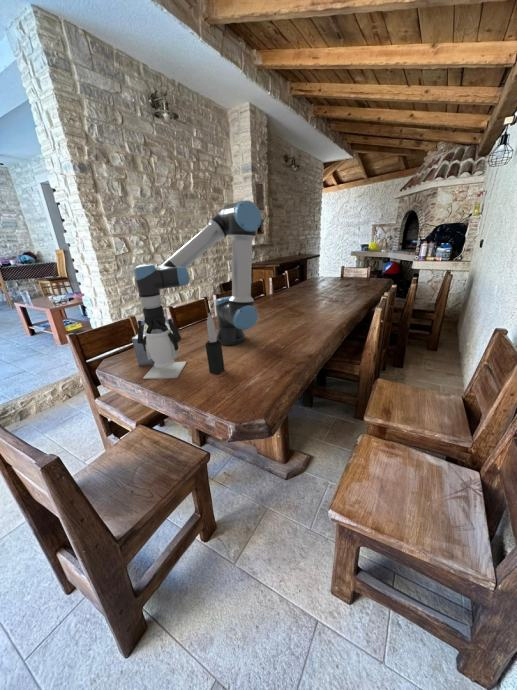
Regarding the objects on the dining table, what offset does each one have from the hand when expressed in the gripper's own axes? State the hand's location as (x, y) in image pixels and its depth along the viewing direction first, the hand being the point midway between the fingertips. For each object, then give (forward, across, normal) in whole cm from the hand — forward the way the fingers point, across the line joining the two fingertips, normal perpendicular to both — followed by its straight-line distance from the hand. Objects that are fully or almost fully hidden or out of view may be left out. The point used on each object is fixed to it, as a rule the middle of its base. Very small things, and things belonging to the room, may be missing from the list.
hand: (163, 357), depth 116 cm
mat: (+6, 0, 0) cm, 6 cm away
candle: (+6, -23, +2) cm, 24 cm away
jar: (+3, 0, 0) cm, 3 cm away
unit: (+6, +11, -11) cm, 17 cm away
